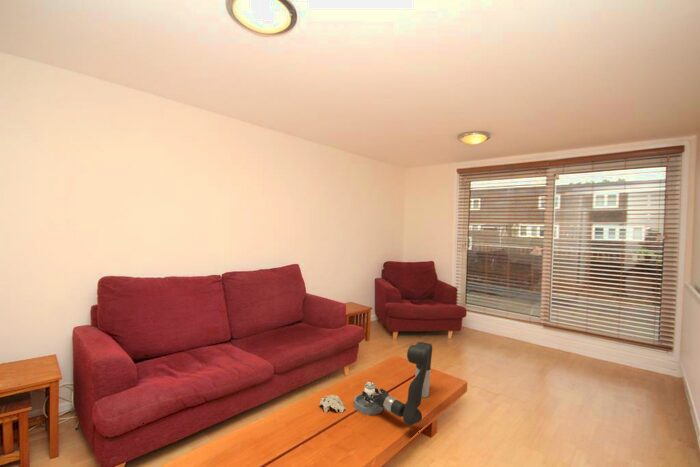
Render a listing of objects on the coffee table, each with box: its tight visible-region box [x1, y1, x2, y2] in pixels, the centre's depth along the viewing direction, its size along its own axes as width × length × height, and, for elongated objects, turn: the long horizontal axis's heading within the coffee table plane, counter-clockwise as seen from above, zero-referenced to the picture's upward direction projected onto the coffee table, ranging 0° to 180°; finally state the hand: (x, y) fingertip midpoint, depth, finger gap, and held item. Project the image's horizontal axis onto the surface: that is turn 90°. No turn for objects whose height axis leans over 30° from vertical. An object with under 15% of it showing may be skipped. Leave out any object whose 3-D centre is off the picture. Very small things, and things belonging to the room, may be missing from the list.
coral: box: [318, 394, 347, 414], centre depth 191 cm, size 15×12×5 cm
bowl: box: [353, 393, 384, 416], centre depth 194 cm, size 17×17×4 cm
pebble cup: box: [364, 381, 376, 408], centre depth 194 cm, size 6×6×14 cm
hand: (367, 390), depth 195 cm, fingers open, 8 cm apart
